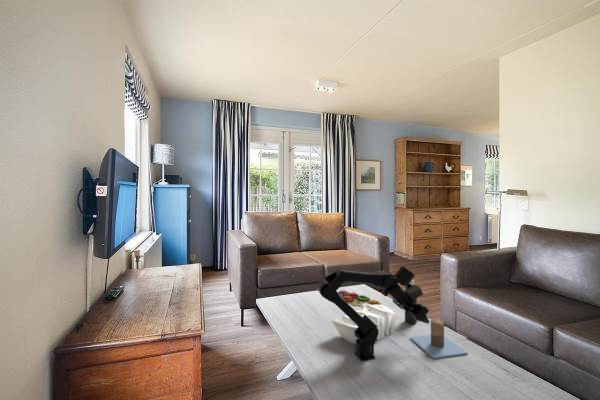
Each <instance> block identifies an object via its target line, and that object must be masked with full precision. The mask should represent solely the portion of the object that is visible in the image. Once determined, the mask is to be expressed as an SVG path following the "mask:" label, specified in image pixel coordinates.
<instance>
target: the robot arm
mask: <svg viewBox="0 0 600 400" xmlns="http://www.w3.org/2000/svg"><path fill="white" fill-rule="evenodd" d="M415 277H416V275H415V274H414V273H413V272H412V271H410V270H409V269H408V268H406V266H404V265H401V266H400V267H399V269H398V270H397V271H396V273H395V274H392V273H390V272H389V273H387V272H385V271H384V270H373V271H358V270H350V269H343V268H339V269H337V270H336V271H334V272H333V273H329V274H328V275H327V276H326V277H323V278H322V279H320V280H318V282H317V283H316V290H317V292H319V294H320V295H321V297H323V298H324V299H325V300H327V301H328V302H331V303H333V304H334V305H335V306H336V307H337V308H338V309H339V310H341V311H342V312H343V313H344V314H345V315H347V316H348V317H349V318H350V319H351V320H352V321H353V322H355V323H356V325H357V326H358V328H357V329H356V330H355V331H354V334H355V336H356V337H357V338H358V339H357V340H356V344H355V350H354V351H353V352H354V355H355V356H356V357H357V358H358V359H359V360H360V361H361V362H363V361H368V360H374V359H376V356H375V344H376V342H377V340H376V338H377V336H378V334H379V331H378V329H377V328H376V327H378V326H377V325H376V324H375V323H374V322H373V321H372V320H371V319H369V318H368V317H367V316H366V315H365V314H364V316H361V315H359V314H358V313H357V312H356V311H357V310H356V309H355V308H353V307H352V305H351V304H348V303H347V302H346V301H345V300H344V299H342V298H341V297H340V296H339V294H338V292H339V291H337V290H339V288H340V287H341V286H342V284H343V283H344V282H353V283H356V282H357V283H364V284H372V285H374V286H377V287H380V288H381V292H380V293H381V295H383V296H384V297H387V296H390V297H391V299H392V303H393V304H395V306H397V307H398V308H399V309H401V310H404V311H405V310H406V311H408V312H410V313H411V316H412V317H413V318H415V319H416V320H417V322H421V323H425V324H429V323H430V319H429V318H428V316H427V314H428V313H429V308H427V306H425V305H424V304H423V303H417V305H416V304H414V303H415V302H416V300H415V299H416V298H417V299H418V298H419V297H422V296H423V295H424V293H423V290H422V288H421V287H420V286H419V285H417V284H414V285H413V284H412V285H411V284H409V283H410V282H411V281H412V280H414V279H415ZM402 287H405V289H403V288H402Z"/></svg>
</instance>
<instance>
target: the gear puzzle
mask: <svg viewBox="0 0 600 400" xmlns="http://www.w3.org/2000/svg"><path fill="white" fill-rule="evenodd" d="M337 292H338V294H339V296H340V297H341V298H342V299H344V300H345V301H346V302H347V303H348V304H349V305H350V306H351V307H352V306H353V307H359V308H360V307H361V308H362V304H364V303H366V304H370V305H381V302H380V301H378V300H375V299H372V298H370V297H369V296H366V295H365V294H364V295H363V294H362V295H359V294H357V293H356V292H349V291H347V290H345V289H342V290H339V291H337Z"/></svg>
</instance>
